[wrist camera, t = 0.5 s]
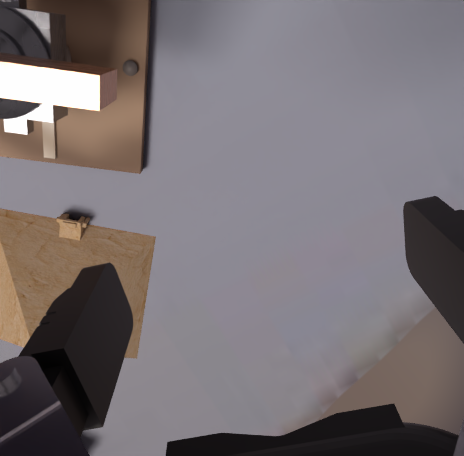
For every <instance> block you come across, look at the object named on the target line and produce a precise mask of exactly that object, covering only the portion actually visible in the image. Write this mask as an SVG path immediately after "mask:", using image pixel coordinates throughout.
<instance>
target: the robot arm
mask: <svg viewBox="0 0 464 456" xmlns="http://www.w3.org/2000/svg"><path fill="white" fill-rule="evenodd" d="M403 215H404V233H405V250H406V260H407V264H408V267H409V270H410V272H411V274H412V276H413V278H414V279H415V280H416V282H417V283H418V284H419V286H420V287H421V288H422V290H423V291H424V292H425V294H426V295H427V296H428V297H429V299H430V300H431V301H432V303H433V304H434V305H435V307H436V308H437V309H438V311H439V312H440V313H441V315H442V316H443V317H444V318H445V320H446V321H447V322H448V324H449V325H450V326H451V328H452V329H453V330H454V331H455V333H456V334H457V335H458V337H459V338H460V339H461V341H462V342H463V343H464V210H456V211H455V210H454V209H452V208H451V207H450V206H448V205H447V204H446V203H445V202H443V201H442V200H441V199H440V198H438V197H437V196H433V197H428V198H423V199H418V200H414V201H409V202H406V203H405V204H404V209H403ZM132 331H133V314H132V310H131V307H130V304H129V302H128V299H127V297H126V294H125V292H124V289H123V286H122V284H121V281H120V279H119V276H118V274H117V271H116V269H115V267H114V266H113V264H112V263H104V264H100V265H95V266H90V267H85V268H83V269H82V270H81V271H80V273H79V275H78V276H77V278H76V280H75V281H74V283H73V285H72V286H71V288H68V289H66V290H65V291H64V292H63V293H62V294H61V295H60V296H58V297H57V298H56V299H55V300H54V301H53V302H52V304H51V306H50V307H49V309H48V310H47V312H46V316H44V317H43V318H42V320H41V321H40V323H39V326H38V327H37V328H36V329H35V331H34V332H33V334H32V336H31V337H30V339H29V340H28V342H27V343H26V345H25V347H24V348H23V350H22V351H21V353H20V355H19V356H18V357H15V358H12V359H9V360H6V361H4V362H2V363H0V456H90V455H89V453H88V451H87V450H86V448H85V446H84V444H83V442H82V441H81V439H80V437H81V434H82V431H83V430H89V429H94V428H100V427H103V425H104V422H105V418H106V415H107V412H108V409H109V405H110V402H111V399H112V396H113V392H114V389H115V386H116V383H117V379H118V376H119V373H120V370H121V366H122V363H123V360H124V357H125V353H126V350H127V347H128V344H129V340H130V337H131V334H132ZM166 456H464V420H463V423H462V427H461V430H460V434H459V435H456V434H453V433H451V432H448V431H445V430H442V429H438V428H435V427H431V426H427V425H421V424H415V423H404V422H402V420H401V418H400V416H399V413H398V411H397V409H396V407H395V405H394V404H389V405H383V406H377V407H371V408H365V409H359V410H353V411H348V412H342V413H336V414H334V415H331V416H329V417H327V418H324V419H322V420H319V421H317V422H315V423H312V424H310V425H307V426H305V427H302V428H300V429H298V430H295V431H293V432H290V433H288V434H285V435H282V436H262V435H246V434H231V433H218V434H212V435H206V436H200V437H194V438H188V439H182V440H176V441H170V442H167V450H166Z"/></svg>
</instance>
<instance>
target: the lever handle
mask: <svg viewBox="0 0 464 456" xmlns="http://www.w3.org/2000/svg"><path fill="white" fill-rule="evenodd" d="M34 27H35V28H34ZM115 100H117V69H114V68H107V67H100V66H93V65H86V64H79V63H72V62H67V49H66V15H64V14H57V13H50V12H44V11H37V10H30V9H27V0H0V119H4V128H5V132H11V133H19V134H27V135H28V134H30V133H31V132H33V131H34V120H36V121H43V122H51V123H54V122H56V121H58V120H60V119H61V118H63V117H65V116H67V115H68V107H75V108H82V109H90V110H97V111H100V110H101V109H103V108H105V107H106V106H108V105H109V104H111V103H112V102H114V101H115Z"/></svg>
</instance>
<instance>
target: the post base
mask: <svg viewBox="0 0 464 456" xmlns="http://www.w3.org/2000/svg"><path fill="white" fill-rule="evenodd" d="M27 9H30V10H37V11H44V12H50V13H57V14H64V15H66V49H67V62H72V63H79V64H86V65H93V66H100V67H107V68H114V69H117V100H115V101H114V102H112V103H111V104H109V105H108V106H106V107H105V108H103V109H101V110H100V111H97V110H90V109H82V108H75V107H68V115H67V116H65V117H63V118H61V119H60V120H58V121H56V122H54V123H51V122H43V121H36V120H34V131H33V132H31V133H30V134H28V135H27V134H19V133H11V132H5V128H4V119H0V156H2V157H10V158H18V159H26V160H34V161H42V162H50V163H58V164H66V165H74V166H82V167H91V168H99V169H107V170H115V171H123V172H131V173H139V174H140V173H141V172H142V170H143V152H144V132H145V112H146V92H147V72H148V52H149V32H150V12H151V0H27ZM34 28H35V27H34Z"/></svg>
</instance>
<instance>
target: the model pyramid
mask: <svg viewBox="0 0 464 456" xmlns="http://www.w3.org/2000/svg"><path fill="white" fill-rule="evenodd" d="M89 221H90V218H88V217H87V218H86V217H83V216H81V218H80V219H79V221H76V220H71V219H69V214H66V213H65V214H62V215H61V216H60V217H57V218H56V219H55V218H49V217H44V216H38V215H33V214H27V213H22V212H16V211H11V210H5V209H0V339H2V340H4V341H7V342H10V343H13V344H16V345H19V346H21V347H25V345H26V343H27V342H28V340H29V339H30V337H31V336H32V334H33V332H34V331H35V329H36V328H37V327H38V326H39V323H40V321H41V320H42V318H43V317H44V316H46V312H47V310H48V309H49V307H50V306H51V304H52V302H53V301H54V300H55V299H56V298H57V297H58V296H60V295H61V294H62V293H63V292H64V291H65V290H66V289H68V288H71V286H72V285H73V283H74V281H75V280H76V278H77V276H78V275H79V273H80V271H81V270H82V269H83V268H85V267H90V266H95V265H100V264H104V263H112V264H113V266H114V267H115V269H116V271H117V274H118V276H119V279H120V281H121V284H122V286H123V289H124V292H125V294H126V297H127V299H128V302H129V304H130V307H131V310H132V314H133V331H132V334H131V337H130V340H129V344H128V347H127V350H126V353H125V358H137V354H138V348H139V341H140V335H141V328H142V322H143V315H144V309H145V302H146V296H147V290H148V283H149V277H150V270H151V264H152V257H153V251H154V244H155V238H156V237H154V236H149V235H143V234H138V233H132V232H127V231H121V230H116V229H110V228H105V227H99V226H94V225H88V224H87V223H88V222H89Z"/></svg>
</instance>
